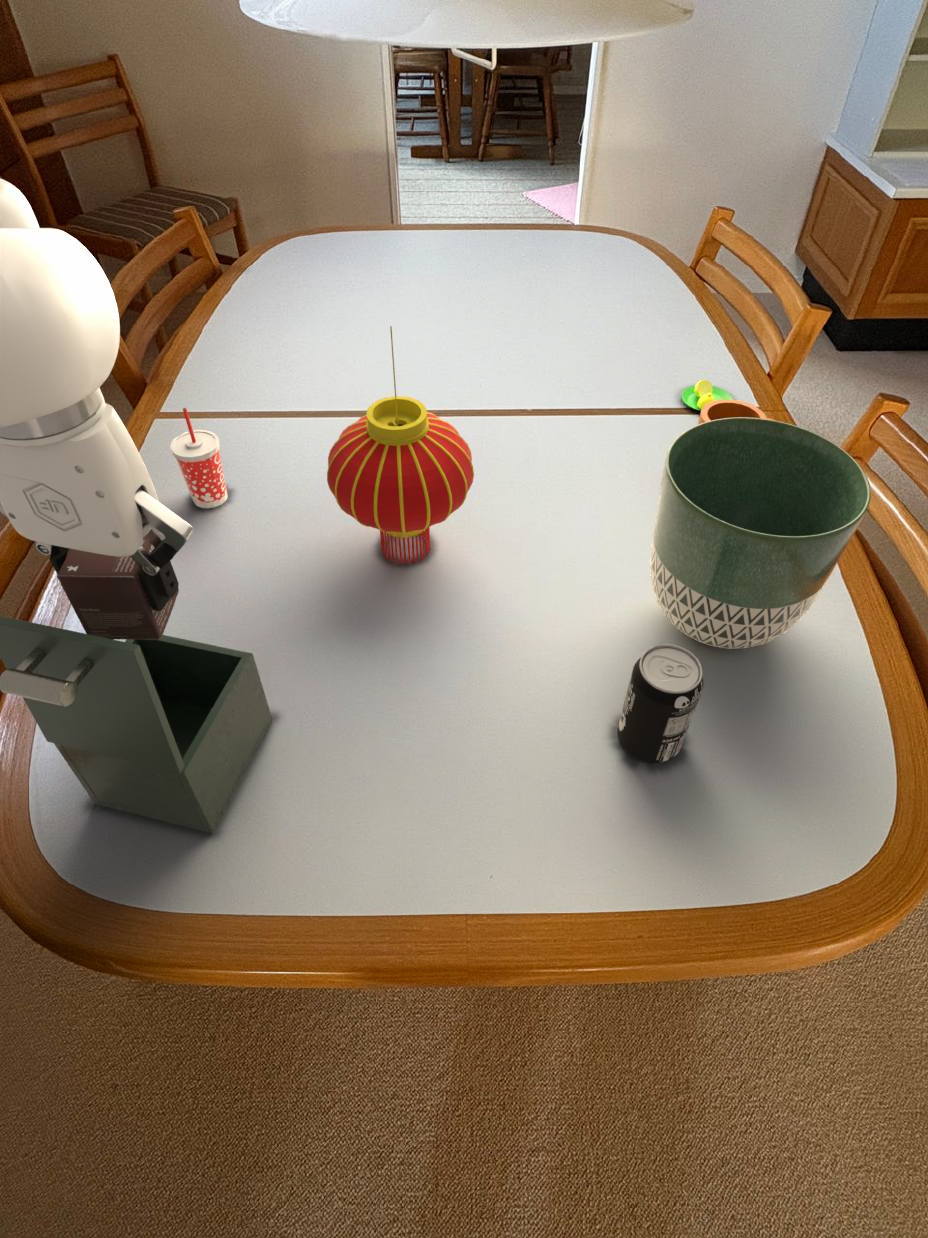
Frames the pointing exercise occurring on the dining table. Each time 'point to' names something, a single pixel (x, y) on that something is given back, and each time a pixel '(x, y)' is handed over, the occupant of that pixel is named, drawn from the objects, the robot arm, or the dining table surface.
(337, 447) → the lantern
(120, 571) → the box
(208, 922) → the dining table surface
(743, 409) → the mug
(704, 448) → the planter
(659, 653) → the beverage can
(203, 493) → the beverage cup
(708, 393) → the green dish
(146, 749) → the bin lid
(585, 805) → the dining table surface
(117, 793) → the green open box
